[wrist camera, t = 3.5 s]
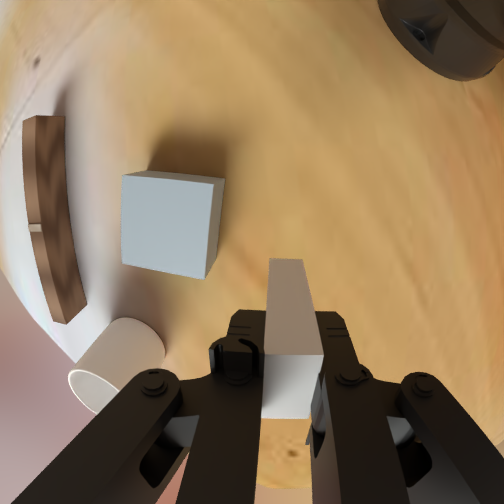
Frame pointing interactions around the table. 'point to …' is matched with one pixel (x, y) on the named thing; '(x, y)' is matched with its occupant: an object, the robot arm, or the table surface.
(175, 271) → the block
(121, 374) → the mug
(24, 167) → the board
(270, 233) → the table surface
